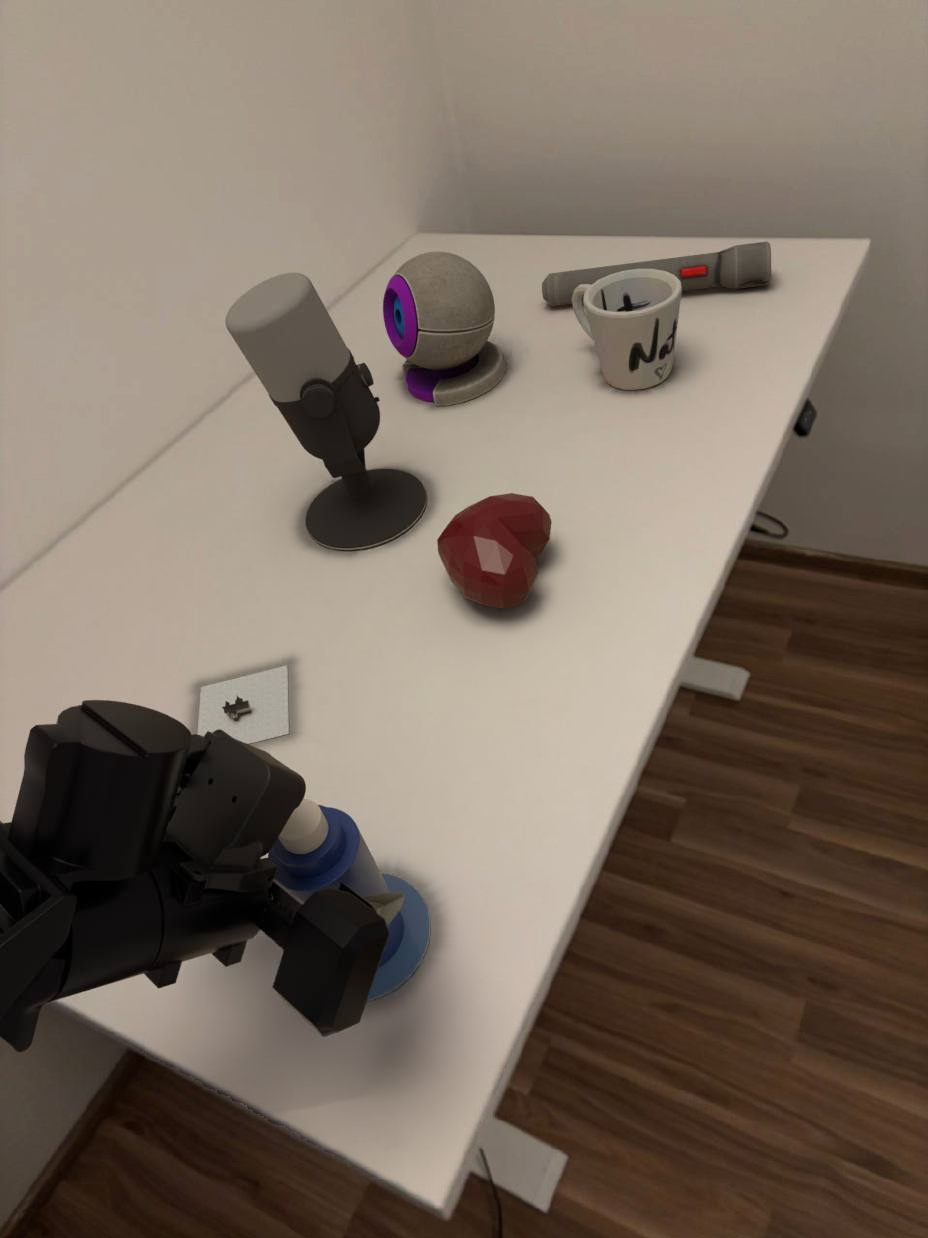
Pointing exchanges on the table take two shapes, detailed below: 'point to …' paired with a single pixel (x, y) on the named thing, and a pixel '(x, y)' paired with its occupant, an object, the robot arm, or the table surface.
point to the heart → (495, 548)
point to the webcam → (443, 328)
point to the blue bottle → (329, 860)
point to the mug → (632, 324)
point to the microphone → (325, 411)
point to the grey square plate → (247, 706)
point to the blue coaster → (404, 940)
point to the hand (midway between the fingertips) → (348, 862)
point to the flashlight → (677, 272)
